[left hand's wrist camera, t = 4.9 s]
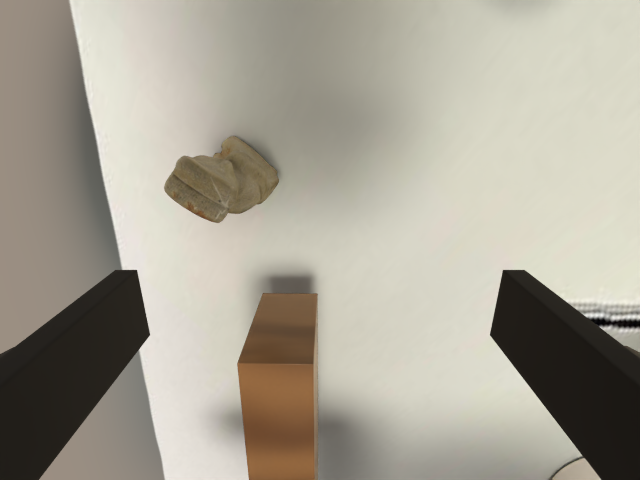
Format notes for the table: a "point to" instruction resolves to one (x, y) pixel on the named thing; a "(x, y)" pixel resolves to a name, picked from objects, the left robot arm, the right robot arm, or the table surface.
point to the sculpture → (222, 181)
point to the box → (281, 388)
